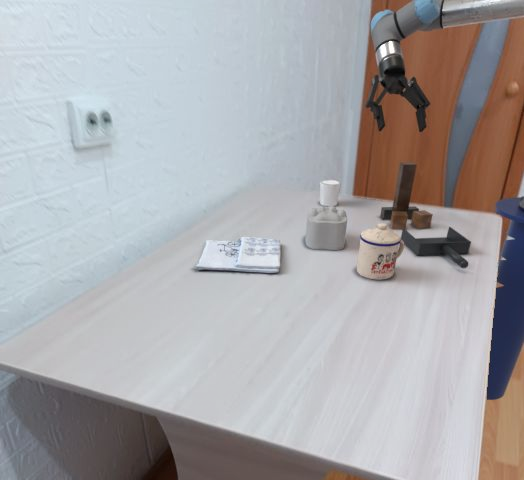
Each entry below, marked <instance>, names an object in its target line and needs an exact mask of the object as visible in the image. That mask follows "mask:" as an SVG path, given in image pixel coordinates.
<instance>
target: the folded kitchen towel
mask: <svg viewBox="0 0 524 480" xmlns="http://www.w3.org/2000/svg"><path fill="white" fill-rule="evenodd" d="M280 267H281V239H280V238H265V237H253V236H243V235H241V238H238V240H236V241H235V240H234V241H233V240H231V241H230V240H215V239H207V240H205V246H204V248H203V251H202V254H201V255H200V259H199V260H198V261H197V262H196V264H195V265H194V267H193V268H194V269H195V268H196V270H200V271H201V270H207V271H233V272H246V273H263V274H264V273H265V274H275V273H279V272H280Z"/></svg>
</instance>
